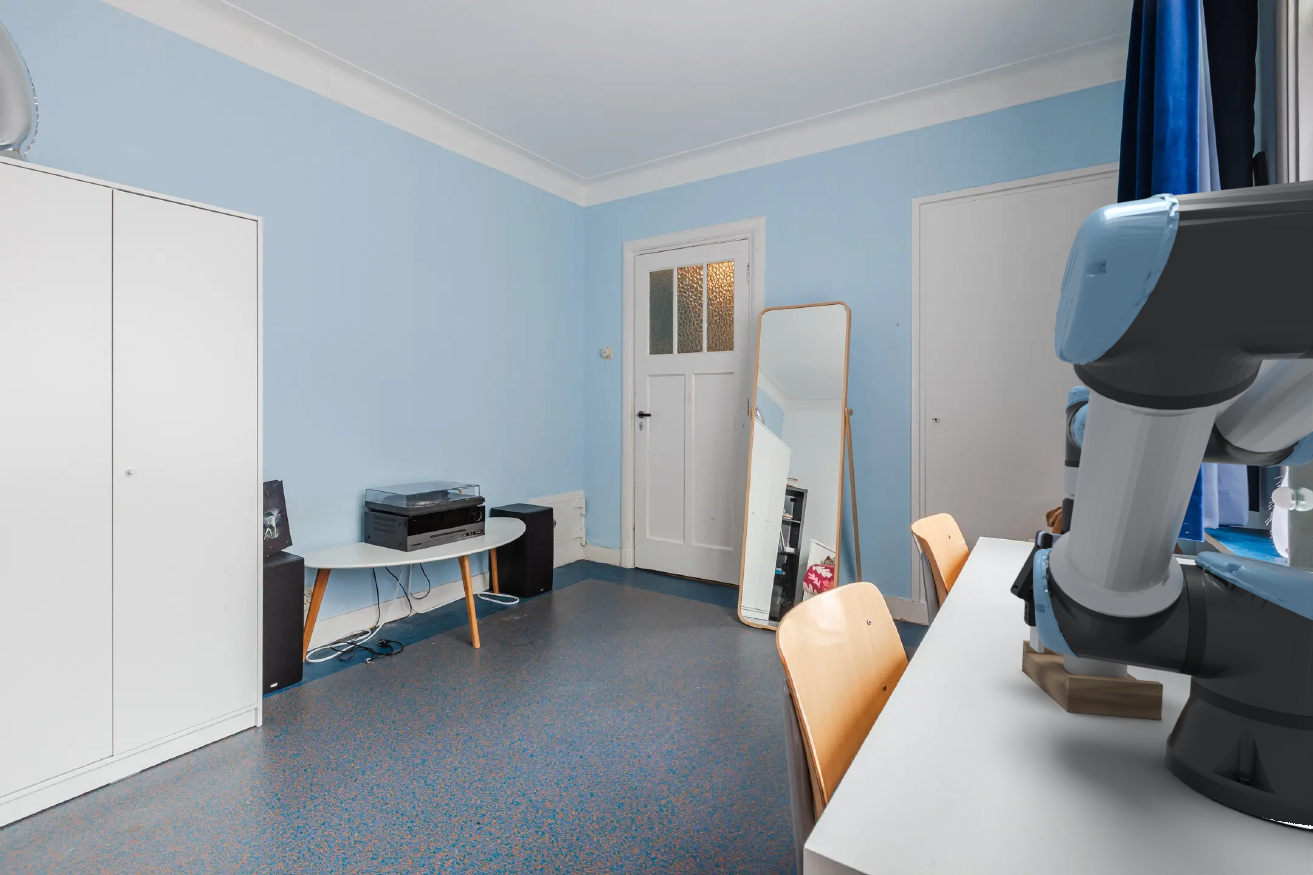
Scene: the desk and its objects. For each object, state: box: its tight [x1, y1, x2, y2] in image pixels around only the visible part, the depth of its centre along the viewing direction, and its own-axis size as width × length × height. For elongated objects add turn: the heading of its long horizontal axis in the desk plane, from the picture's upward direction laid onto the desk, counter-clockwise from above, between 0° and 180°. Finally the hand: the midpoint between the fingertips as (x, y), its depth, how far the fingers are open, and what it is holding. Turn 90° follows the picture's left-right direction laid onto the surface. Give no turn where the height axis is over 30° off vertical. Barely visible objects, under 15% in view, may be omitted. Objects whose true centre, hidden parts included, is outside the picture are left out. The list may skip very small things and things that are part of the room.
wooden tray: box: [1021, 640, 1164, 721], centre depth 89 cm, size 14×11×4 cm
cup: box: [1053, 651, 1128, 679], centre depth 89 cm, size 7×10×9 cm
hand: (1087, 653), depth 89 cm, fingers open, 12 cm apart
